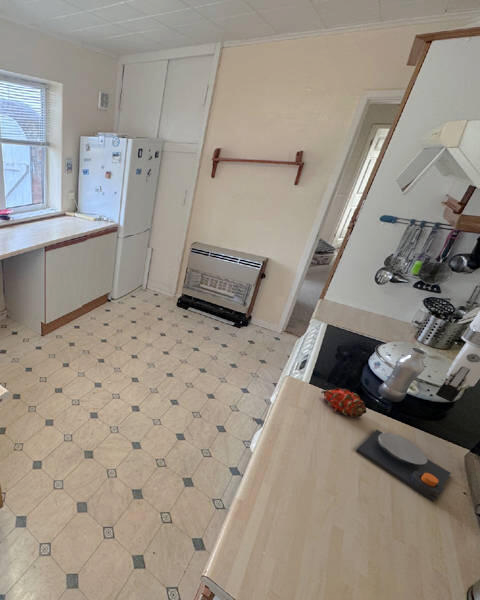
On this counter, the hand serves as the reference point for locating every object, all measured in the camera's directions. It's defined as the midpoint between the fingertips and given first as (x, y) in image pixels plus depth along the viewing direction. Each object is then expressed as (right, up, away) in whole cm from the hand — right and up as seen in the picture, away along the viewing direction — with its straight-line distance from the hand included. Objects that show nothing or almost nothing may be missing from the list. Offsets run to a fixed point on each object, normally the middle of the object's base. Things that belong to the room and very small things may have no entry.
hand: (444, 397), depth 85 cm
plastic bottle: (+11, -9, +28) cm, 31 cm away
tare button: (-10, -20, -5) cm, 23 cm away
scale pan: (-9, -15, +3) cm, 18 cm away
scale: (-9, -19, +3) cm, 22 cm away
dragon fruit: (-12, -11, +20) cm, 26 cm away
